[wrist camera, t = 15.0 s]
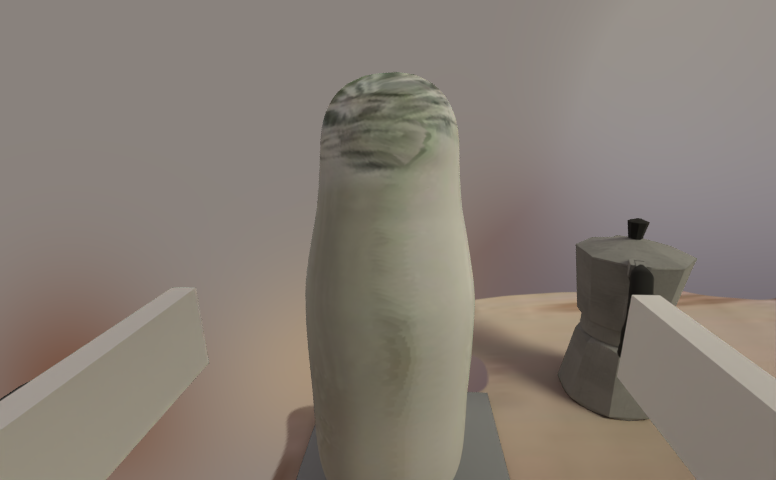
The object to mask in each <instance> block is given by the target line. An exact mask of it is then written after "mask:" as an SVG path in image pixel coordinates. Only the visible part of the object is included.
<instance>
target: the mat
mask: <svg viewBox="0 0 776 480" xmlns="http://www.w3.org/2000/svg"><path fill="white" fill-rule="evenodd" d="M296 480H327V479H326V477H325V474H324V471H323V468H322V465H321V461H320V456H319V451H318V445H317V436H316V426H314V429H313V432H312V435H311V438H310V441H309V444H308V447H307V449H306V452H305V455H304V458H303V461H302V464H301V467H300V470H299V473H298V476H297V479H296ZM453 480H510V478H509V474H508V471H507V467H506V463H505V459H504V455H503V451H502V448H501V444H500V440H499V436H498V432H497V429H496V425H495V421H494V417H493V413H492V409H491V406H490V402H489V398H488V394H487V393H479V392H467V402H466V418H465V431H464V441H463V449H462V455H461V459H460V464H459V467H458V470H457V472H456V475H455V477H454V479H453Z"/></svg>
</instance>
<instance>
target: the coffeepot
mask: <svg viewBox="0 0 776 480" xmlns="http://www.w3.org/2000/svg"><path fill="white" fill-rule="evenodd" d="M648 225H649V222H647V221H645V220H642V219H639V218H636V219H630V220H628V237H625V236H618V235H616V236H614V237H592V238H589V239H587V240H585V241H582V242H580V243H578V244H576V271H577V307H578V308H579V310H580V311H581V312H582V314H581V319H580V323H579V324H578V325H577V326H576V327H575V330H574V332H573V335H572V338H571V340H570V343H569V346H568V348H567V351H566V354H565V356H564V359H563V362H562V364H561V367H560V370H559V372H558V377H559V379H560V381H561V383H562V386H563V388H564V390H565V391H566V392H567V394H568V395H569V396H570V397H571V398H572V399H573V400H575V401H576V402H577V403H579V404H580V405H582V406H583V407H585V408H587V409H589V410H591V411H593V412H595V413H597V414H600V415H603V416H606V417H609V418H613V419H618V420H626V421H638V420H643V419H649V417H648V416H647V415H646V414H645V412H644V411H643V410H642V408H641V407H640V406H639V405H638V403H637V402H636V401H635V399H634V398H633V397H632V396H631V394H630V393H629V392H628V390H627V389H626V388H625V386H624V385H623V384H622V383H621V381H620V380H619V379H618V377H617V374H618V368H619V363H620V357H621V352H622V346H623V341H624V335H625V330H626V324H627V318H628V313H629V307H630V302H631V296H632V295H660V296H662V297H663V298H664V299H666V300H667V301H669V302H670V303H671V304H673V305H674V306H676V305H677V302H678V300H679V298H680V296H681V293H682V291H683V289H684V287H685V284H686V282H687V280H688V277H689V275H690V273H691V270H692V269H693V266H694V264H695V262H696V260H697V258H695V257H692V256H690V255H688V254H686V253H684V252H682V251H680V250H678V249H676V248H674V247H671V246H668V245H665V244H661V243H657V242H654V241H650V240H646V239H643V236H644V234H645V232H646V229H647V227H648Z"/></svg>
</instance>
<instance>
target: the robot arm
mask: <svg viewBox="0 0 776 480" xmlns="http://www.w3.org/2000/svg"><path fill="white" fill-rule="evenodd" d="M208 364H209V359H208V354H207V348H206V343H205V337H204V331H203V326H202V320H201V314H200V309H199V303H198V298H197V293H196V288H187V287H186V288H185V287H172V288H171V289H169V290H168V291H166V292H165V293H163V294H162V295H160V296H159V297H157V298H156V299H154V300H153V301H151V302H150V303H148V304H147V305H145V306H144V307H142V308H141V309H139V310H138V311H136V312H135V313H133V314H131V315H130V316H128V317H127V318H126V319H124V320H122V321H121V322H119V323H118V324H116V325H115V326H113V327H112V328H110V329H109V330H107V331H106V332H104V333H103V334H101V335H100V336H98V337H97V338H95V339H94V340H92V341H91V342H89V343H88V344H86V345H85V346H83V347H81V348H80V349H78V350H77V351H75V352H74V353H73V354H71V355H70V356H68V357H66V358H65V359H63V360H62V361H60V362H59V363H57V364H56V365H54V366H53V367H51V368H50V369H48V370H47V371H45V372H44V373H42V374H41V375H39V376H38V377H36V378H35V379H33V380H31V381H29V382H27V383H25V384H23V385H21V386H19V387H18V388H16V389H15V390H13V391H12V392H10V393H9V394H7V395H6V396H4V397H3V398H1V399H0V480H106V479H107V478H108V477H109V476H110V475H111V474H112V472H113V471H114V470H115V469H116V468H117V467H118V466H119V465H120V463H121V462H122V461H123V460H124V459H125V458H126V457H127V456H128V454H129V453H130V452H131V451H132V449H134V448H135V446H136V445H137V444H138V443H139V442H140V441H141V440H142V438H143V437H144V436H145V435H146V434H147V433H148V432H149V431H150V429H151V428H152V427H153V426H154V425H155V424H156V423H157V422H158V420H159V419H160V418H161V417H162V416H163V415H164V414H165V412H166V411H167V410H168V409H169V408H170V407H171V406H172V405H173V403H174V402H175V401H176V400H177V399H178V398H179V397H180V395H181V394H182V393H183V392H184V391H185V390H186V389H187V388H188V386H189V385H190V384H191V383H192V382H193V381H194V380H195V379H196V377H197V376H198V375H199V374H200V373H201V372H202V371H203V369H204V368H205V367H206V366H207V365H208ZM617 377H618V379H619V380H620V381H621V383H622V384H623V385H624V386H625V388H626V389H627V390H628V392H629V393H630V394H631V396H632V397H633V398H634V399H635V401H636V402H637V403H638V405H639V406H640V407H641V408H642V410H643V411H644V412H645V414H646V415H647V416H648V417H649V419H650V420H651V421H652V423H653V424H654V425H655V427H656V428H657V429H658V430H659V432H660V433H661V434H662V436H663V437H664V438H665V439H666V441H667V442H668V443H669V445H670V446H671V447H672V448H673V450H674V451H675V452H676V454H677V455H678V456H679V458H680V459H681V460H682V461H683V463H684V464H685V465H686V467H687V468H688V469H689V470H690V472H691V473H692V474H693V476H694V477H695V478H696V479H697V480H776V378H774V377H773V376H771V375H770V374H769V373H767V372H766V371H764V370H763V369H762V368H760V367H759V366H758V365H756V364H755V363H753V362H752V361H751V360H749V359H748V358H746V357H745V356H744V355H742V354H741V353H739V352H738V351H737V350H735V349H734V348H733V347H731V346H730V345H728V344H727V343H726V342H724V341H723V340H721V339H720V338H719V337H717V336H716V335H714V334H713V333H712V332H710V331H709V330H707V329H706V328H705V327H703V326H702V325H701V324H699V323H698V322H696V321H695V320H694V319H692V318H691V317H689V316H688V315H687V314H685V313H684V312H682V311H681V310H680V309H678V308H677V307H676V306H674V305H673V304H671V303H670V302H669V301H667V300H666V299H664V298H663V297H662V296H660V295H632V296H631V302H630V307H629V313H628V318H627V324H626V330H625V335H624V341H623V346H622V352H621V357H620V363H619V368H618V374H617Z"/></svg>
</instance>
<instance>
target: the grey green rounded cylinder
mask: <svg viewBox="0 0 776 480" xmlns="http://www.w3.org/2000/svg"><path fill="white" fill-rule="evenodd" d="M457 128H458V127H457V124H456V119H455V116H454V113H453V110H452V108H451V106H450V104H449V102H448V101H447V99H446V97H445V96H444V95H443V93H442V92H441V91H440V90H439V89H438V88H437V87H436V86H435V85H433V84H432V83H431V82H429V81H427V80H425V79H422V78H420V77H418V76H416V75H414V74H406V73H399V72H394V73H382V74H373V75H368V76H364V77H361V78H359V79H357V80H355V81H353V82H350V83H348V84H347V85H345V86H344V87H343V88H342V89H341V90H340V91H339V92H338V93H337V94H336V95H335V97H334V98H333V99H332V101H331V103H330V105H329V107H328V109H327V111H326V114H325V117H324V120H323V125H322V131H321V142H320V145H321V147H320V170H319V171H320V172H319V190H318V201H317V211H316V217H315V224H314V229H313V235H312V241H311V247H310V254H309V259H308V267H307V276H306V325H307V338H308V350H309V360H310V370H311V379H312V388H313V400H314V413H315V426H316V436H317V445H318V451H319V456H320V461H321V465H322V468H323V471H324V474H325V477H326V479H327V480H453V479H454V477H455V475H456V472H457V470H458V467H459V464H460V459H461V455H462V449H463V441H464V431H465V418H466V402H467V390H468V379H469V371H470V363H471V354H472V341H473V329H474V309H475V300H474V282H473V274H472V267H471V260H470V253H469V247H468V240H467V234H466V228H465V223H464V218H463V212H462V205H461V191H460V175H459V174H460V173H459V135H458V129H457Z"/></svg>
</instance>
